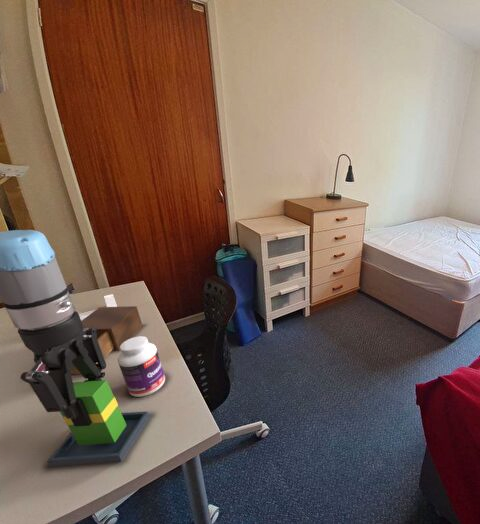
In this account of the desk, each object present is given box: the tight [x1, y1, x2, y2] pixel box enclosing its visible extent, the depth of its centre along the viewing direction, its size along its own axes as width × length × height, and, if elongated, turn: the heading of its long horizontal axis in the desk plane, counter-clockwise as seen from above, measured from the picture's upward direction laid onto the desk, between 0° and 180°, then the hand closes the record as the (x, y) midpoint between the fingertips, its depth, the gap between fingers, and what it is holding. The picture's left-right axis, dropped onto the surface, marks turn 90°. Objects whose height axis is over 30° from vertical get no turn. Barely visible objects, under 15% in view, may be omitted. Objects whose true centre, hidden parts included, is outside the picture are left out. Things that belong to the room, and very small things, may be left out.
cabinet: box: [82, 305, 143, 352], centre depth 90 cm, size 13×12×9 cm
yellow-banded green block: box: [60, 379, 127, 446], centre depth 58 cm, size 7×4×14 cm, turn 96°
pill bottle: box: [117, 335, 166, 398], centre depth 72 cm, size 8×8×14 cm
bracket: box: [78, 293, 118, 321], centre depth 100 cm, size 13×7×8 cm, turn 134°
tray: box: [47, 411, 150, 468], centre depth 61 cm, size 13×10×2 cm
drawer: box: [48, 331, 115, 376], centre depth 79 cm, size 16×10×7 cm, turn 6°
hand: (92, 413), depth 58 cm, fingers closed on yellow-banded green block, 4 cm apart
